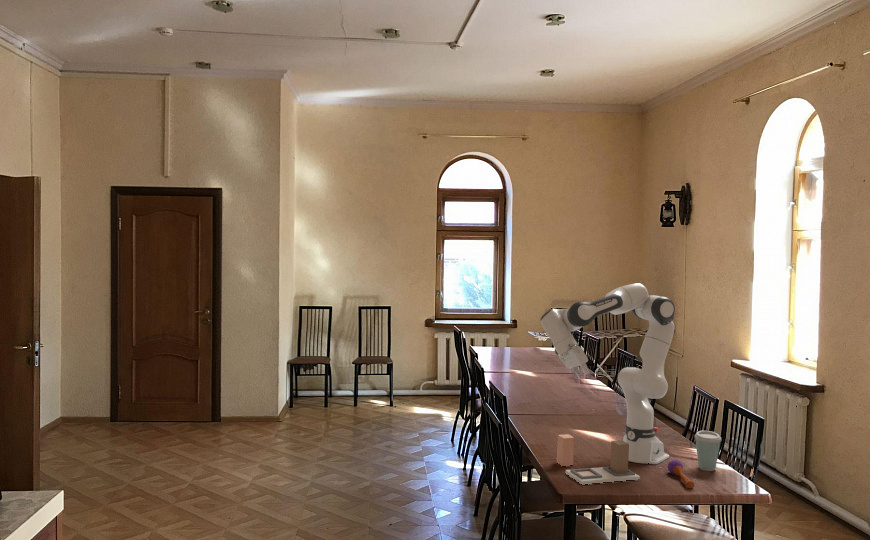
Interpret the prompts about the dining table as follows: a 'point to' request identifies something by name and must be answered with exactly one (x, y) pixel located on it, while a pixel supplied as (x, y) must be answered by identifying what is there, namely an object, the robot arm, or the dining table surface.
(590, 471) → the board
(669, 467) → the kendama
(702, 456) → the disposable coffee cup
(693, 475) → the dining table surface
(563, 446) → the terracotta pillar
